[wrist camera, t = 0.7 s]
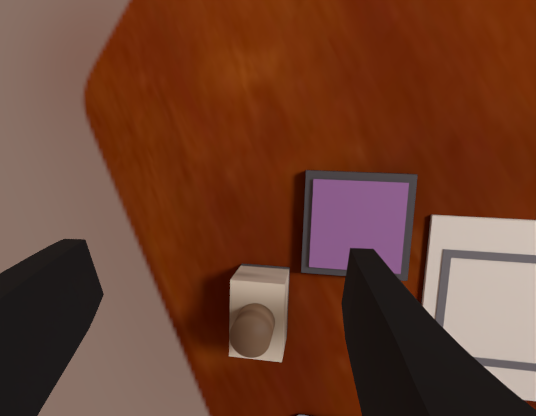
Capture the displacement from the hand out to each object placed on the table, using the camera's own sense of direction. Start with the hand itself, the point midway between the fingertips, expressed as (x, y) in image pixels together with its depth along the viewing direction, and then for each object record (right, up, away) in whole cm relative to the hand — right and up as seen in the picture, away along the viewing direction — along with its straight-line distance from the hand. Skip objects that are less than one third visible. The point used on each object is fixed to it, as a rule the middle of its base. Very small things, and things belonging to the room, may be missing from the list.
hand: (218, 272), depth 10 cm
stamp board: (+19, -6, +17) cm, 26 cm away
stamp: (+1, -6, +20) cm, 21 cm away
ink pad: (+8, +1, +17) cm, 19 cm away
